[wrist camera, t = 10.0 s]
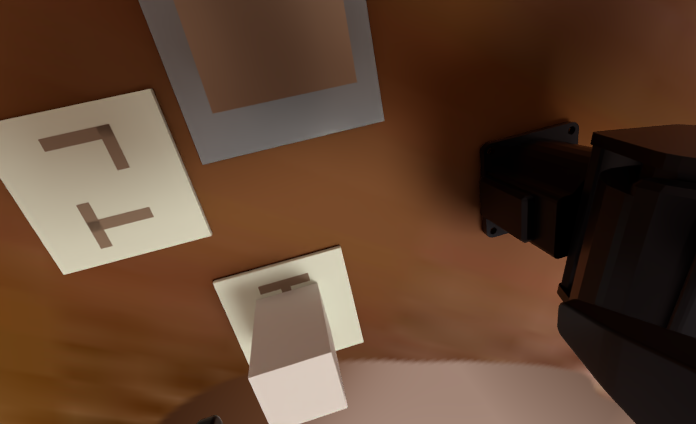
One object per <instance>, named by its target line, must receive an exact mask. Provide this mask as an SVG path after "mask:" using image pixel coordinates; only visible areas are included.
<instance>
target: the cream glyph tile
mask: <svg viewBox="0 0 696 424" xmlns="http://www.w3.org/2000/svg"><path fill="white" fill-rule="evenodd" d="M0 179H1V180H2V182H3V183H4V185H5V186H6V188H7V189H8V191H9V192H10V194H11V195H12V197H13V198H14V200H15V201H16V203H17V204H18V206H19V208H20V209H21V211H22V212H23V214H24V215H25V217H26V218H27V220H28V221H29V223H30V224H31V226H32V227H33V229H34V230H35V232H36V233H37V235H38V236H39V238H40V239H41V241H42V243H43V244H44V246H45V247H46V249H47V250H48V252H49V253H50V255H51V256H52V258H53V259H54V261H55V262H56V264H57V265H58V267H59V268H60V270H61V271H62V273H63V275H65V274H69V273H73V272H76V271H80V270H84V269H88V268H91V267H95V266H99V265H103V264H107V263H110V262H114V261H118V260H122V259H125V258H129V257H133V256H137V255H141V254H144V253H148V252H152V251H156V250H159V249H163V248H167V247H171V246H174V245H178V244H182V243H186V242H190V241H193V240H197V239H201V238H205V237H208V236H212V231H211V229H210V226H209V224H208V222H207V219H206V217H205V214H204V212H203V209H202V207H201V205H200V202H199V200H198V197H197V195H196V193H195V190H194V188H193V185H192V183H191V181H190V178H189V176H188V173H187V171H186V168H185V166H184V164H183V161H182V159H181V156H180V154H179V152H178V149H177V147H176V144H175V142H174V139H173V137H172V135H171V132H170V130H169V127H168V125H167V123H166V120H165V118H164V115H163V113H162V111H161V108H160V106H159V103H158V101H157V98H156V96H155V94H154V91H153V89H147V90H142V91H137V92H133V93H128V94H123V95H119V96H114V97H109V98H104V99H100V100H95V101H90V102H86V103H81V104H76V105H72V106H67V107H62V108H58V109H53V110H48V111H44V112H39V113H34V114H30V115H25V116H20V117H16V118H11V119H6V120H2V121H0Z"/></svg>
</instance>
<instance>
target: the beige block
mask: <svg viewBox="0 0 696 424" xmlns="http://www.w3.org/2000/svg"><path fill="white" fill-rule="evenodd" d="M248 379H249V381H250V383H251V386H252V388H253V390H254V392H255V394H256V397H257V399H258V401H259V403H260V405H261V407H262V410H263V412H264V414H265V416H266V418H267V421H268V423H269V424H301V423H304V422H306V421H310V420H313V419H315V418H319V417H321V416H325V415H327V414H331V413H333V412H337V411H339V410H342V409H346V408H348V406H347V401H346V397H345V392H344V388H343V383H342V378H341V374H340V369H339V364H338V360H337V355H336V350H335V346H334V341H333V337H332V332H331V328H330V324H329V321H328V318H327V314H326V311H325V307H324V304H323V300H322V297H321V293H320V290H319V286H318V283H314V284H311V285H307V286H304V287H301V288H297V289H294V290H290V291H287V292H283V293H280V294H276V295H273V296H269V297H266V298H263V299H259V300H256V305H255V315H254V325H253V335H252V345H251V355H250V365H249V375H248Z"/></svg>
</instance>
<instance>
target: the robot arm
mask: <svg viewBox="0 0 696 424" xmlns="http://www.w3.org/2000/svg"><path fill="white" fill-rule="evenodd" d="M569 128H570V131H569V132H568V130H569ZM578 133H579V126H578V124H577V123H575V122H564V123H560V124H557V125H553V126H549V127H545V128H541V129H537V130H533V131H529V132H525V133H522V134H518V135H514V136H510V137H506V138H502V139H498V140H494V141H491V142H487V143H485V144H484V145H483V146H482V147H481V149H480V163H481V179H480V203H481V215H482V216H483V231H484V233H485V234H486V235H487V236H488V237H496V236H500V235H503V234H506V233H510V234H511V235H513V236H514V237H516V238H517V239H519V240H520V241H522V242H524V243H526V242H530V243H532V244H534V245H535V246H537V247H538V248H540V249H542V250H543V251H545V252H546V253H548V254H550V255H551V256H553V257H554V258H556V259H559V258H562V257H566V256H567V261H566V265H565V270H564V274H563V278H562V283H559V286H558V290H557V294H558V295H559V296H560V298H561V299H562V301H563V302H562V303H560V305H559V308H558V323H557V327H558V330H559V333H560V335H561V336H562V337H563V339H564V340H565V341H566V342H567V344H568V345H569V346H570V347H571V349H572V350H573V351H574V353H575V354H576V355H577V356H578V358H579V359H580V360H581V361H582V363H583V364H584V365H585V366H586V368H587V369H588V370H589V371H590V373H591V374H592V375H593V377H594V378H595V379H596V380H597V381H598V383H599V384H600V385H601V386H602V387H603V389H604V390H605V391H606V392H607V393H608V394H609V395H610V396H611V398H612V399H613V400H614V401H615V402H616V403H617V404H618V405H619V406H620V407H621V408H622V409H623V410H624V411H625V413H627V415H628V416H629V417H630V418H631V419H632V420H633V421H634V422H635V423H636V424H696V125H680V124H675V125H663V126H652V127H641V128H630V129H619V130H608V131H597V132H593V135H592V140H591V145H593V147H587V146H582V145H578ZM489 148H491V152H490V153H489V154H488V153H487V152H488V149H489ZM491 228H493V230H492V231H490V230H491ZM197 424H223V423H222V421H221V419H220V417H219V416H217V415H213V416H210V417H207V418H204V419H201V420H200V421H199V422H198V423H197Z"/></svg>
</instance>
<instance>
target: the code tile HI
mask: <svg viewBox="0 0 696 424" xmlns="http://www.w3.org/2000/svg"><path fill="white" fill-rule="evenodd" d="M314 283H318V286H319V290H320V293H321V297H322V300H323V304H324V307H325V311H326V314H327V318H328V321H329V324H330V328H331V332H332V337H333V341H334V346H335V350H336V351H337V350H340V349H343V348H346V347H350V346H353V345H356V344H359V343H362V342H364V341H363V337H362V333H361V329H360V325H359V321H358V317H357V313H356V308H355V304H354V300H353V296H352V292H351V288H350V284H349V279H348V275H347V271H346V267H345V263H344V259H343V255H342V251H341V247H340V246H336V247H333V248H329V249H325V250H322V251H318V252H315V253H311V254H307V255H304V256H300V257H297V258H293V259H290V260H286V261H282V262H279V263H275V264H272V265H268V266H265V267H261V268H257V269H254V270H250V271H247V272H243V273H240V274H236V275H232V276H229V277H225V278H222V279H218V280H214V281H213V285H214V287H215V289H216V292H217V294H218V296H219V298H220V301H221V303H222V305H223V307H224V310H225V312H226V314H227V316H228V319H229V321H230V323H231V325H232V328H233V330H234V332H235V334H236V337H237V339H238V341H239V343H240V346H241V348H242V350H243V352H244V355H245V357H246V359H247V361H248V364H249V365H250V355H251V345H252V335H253V325H254V315H255V305H256V300H259V299H263V298H266V297H269V296H273V295H276V294H280V293H283V292H287V291H290V290H294V289H297V288H301V287H304V286H307V285H311V284H314Z"/></svg>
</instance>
